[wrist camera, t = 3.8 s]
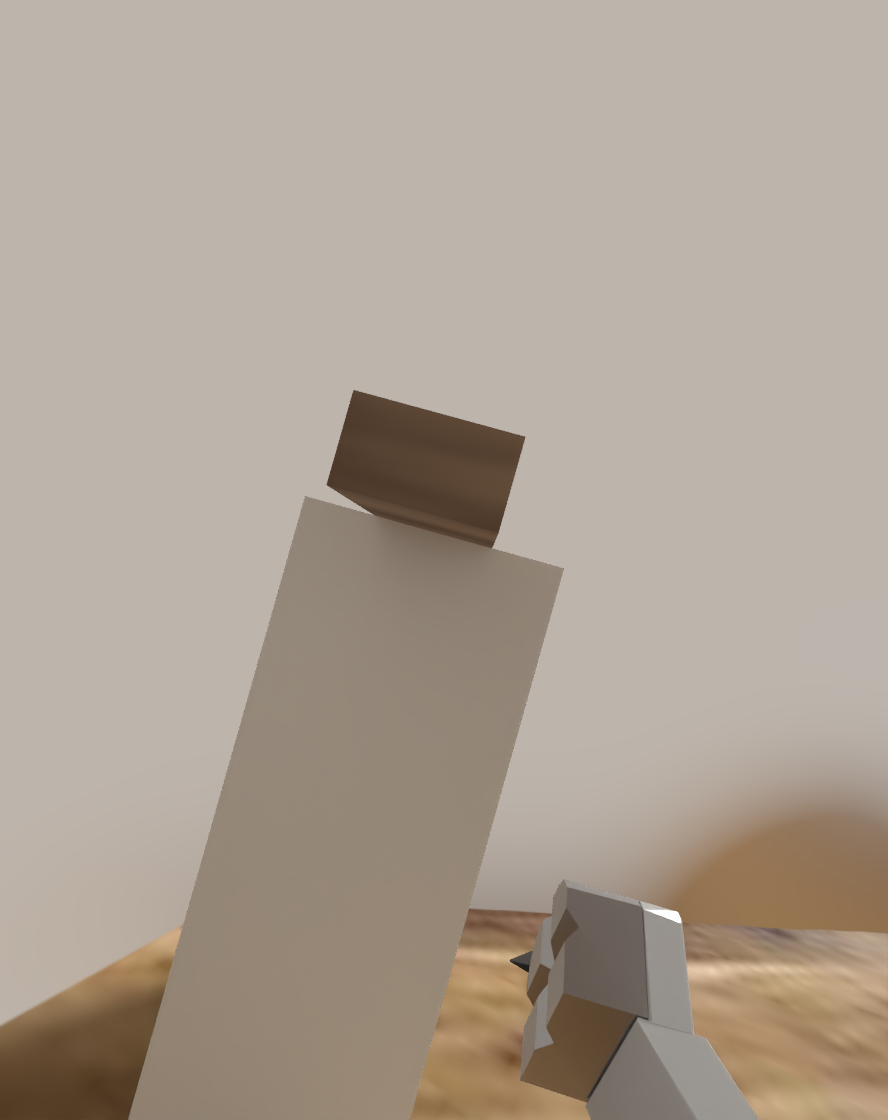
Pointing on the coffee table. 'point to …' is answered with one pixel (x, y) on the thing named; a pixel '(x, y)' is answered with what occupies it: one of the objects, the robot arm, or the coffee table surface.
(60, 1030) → the coffee table surface
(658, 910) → the robot arm
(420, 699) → the pedestal
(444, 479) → the walnut strip
